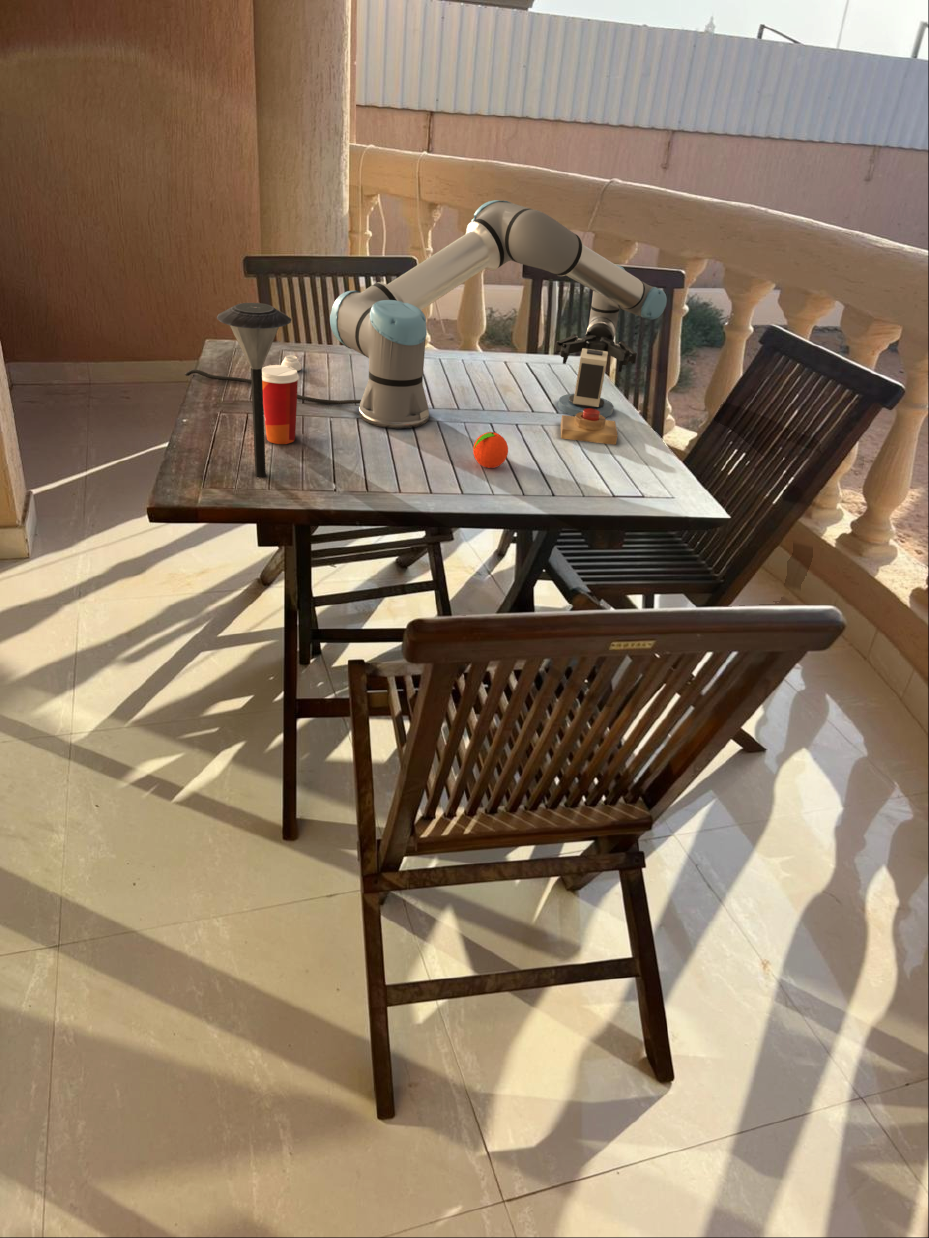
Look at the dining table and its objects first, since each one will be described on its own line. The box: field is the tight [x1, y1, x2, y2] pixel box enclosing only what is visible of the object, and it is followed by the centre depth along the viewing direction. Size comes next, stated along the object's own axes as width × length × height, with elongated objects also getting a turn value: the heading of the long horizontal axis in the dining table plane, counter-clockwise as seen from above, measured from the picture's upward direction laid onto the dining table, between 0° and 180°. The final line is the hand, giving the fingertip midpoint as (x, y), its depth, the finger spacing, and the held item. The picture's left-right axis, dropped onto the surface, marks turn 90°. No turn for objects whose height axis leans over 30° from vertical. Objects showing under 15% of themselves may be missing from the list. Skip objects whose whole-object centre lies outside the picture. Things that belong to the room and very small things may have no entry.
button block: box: [560, 412, 619, 446], centre depth 193 cm, size 12×9×4 cm
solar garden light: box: [216, 302, 292, 478], centre depth 153 cm, size 12×12×30 cm
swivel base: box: [557, 393, 614, 418], centre depth 208 cm, size 13×13×2 cm
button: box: [582, 408, 600, 421], centre depth 192 cm, size 4×4×2 cm
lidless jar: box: [280, 355, 303, 372], centre depth 213 cm, size 5×3×5 cm
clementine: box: [472, 431, 509, 469], centre depth 172 cm, size 8×7×7 cm
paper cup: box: [262, 364, 300, 445], centre depth 173 cm, size 8×8×14 cm
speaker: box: [569, 348, 609, 408], centre depth 204 cm, size 9×8×12 cm
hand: (592, 362), depth 211 cm, fingers open, 13 cm apart
